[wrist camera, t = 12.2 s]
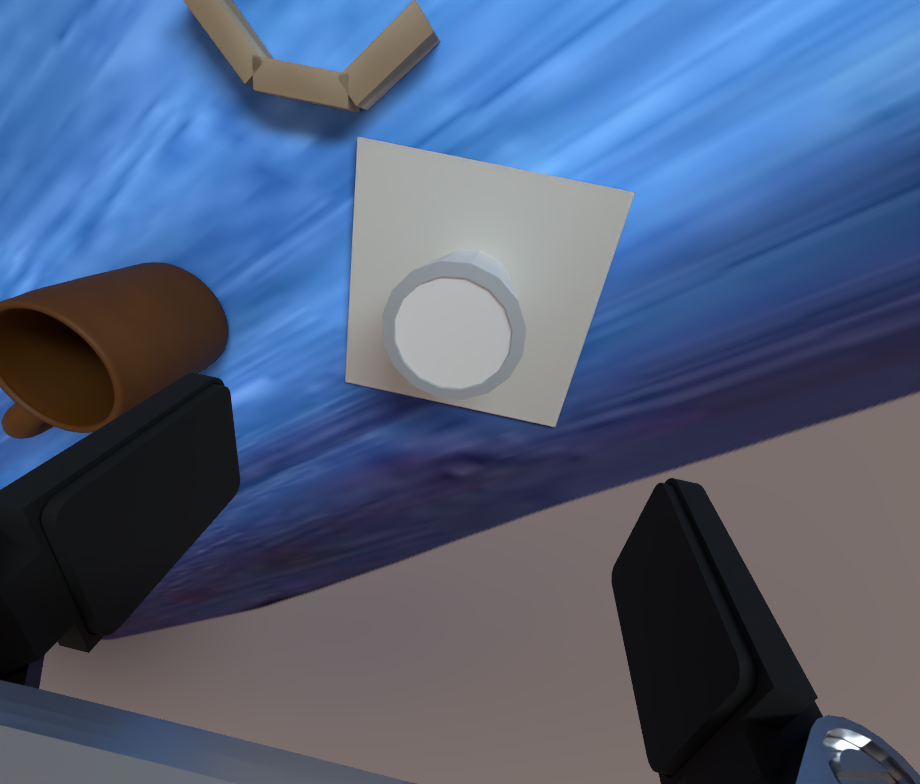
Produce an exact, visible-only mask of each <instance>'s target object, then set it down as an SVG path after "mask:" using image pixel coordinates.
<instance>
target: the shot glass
mask: <svg viewBox="0 0 920 784" xmlns="http://www.w3.org/2000/svg"><path fill="white" fill-rule="evenodd" d="M382 330H383V344H384V346H385V348H386V350H387V352H388V355H389V357H390V359H391V361H392V363H393V366H394V367H395V368H396V369H397V370H398V371H399V372H400V373H401V374H402V375H403V376H404V377H405V378H406V379H407V380H408V381H409V382H410V383H411V384H412V385H413V386H415V387H417V388H419V389H421V390H423V391H425V392H427V393H429V394H431V395H434V396H436V397H442V398H451V399H460V400H464V399H468V398H472V397H476V396H480V395H484V394H488V393H489V392H491V391H492V390H493V389H495V388H496V387H498V386H499V385H500V384H502V383H503V382H505V381H506V380H507V379H509V378H510V376H511V374H512V373H513V371H514V369H515V368H516V366H517V364H518V363H519V361H520V359H521V358H522V356H523V350H524V343H525V335H526V326H525V322H524V319H523V316H522V312H521V309H520V306H519V302H518V299H517V296H516V293H515V290H514V286H513V283H512V280H511V277H510V274H509V273H508V271H507V270H506V269H505V268H504V266H503V265H502V264H501V263H500V262H499V260H498V259H496V258H494V257H492V256H490V255H489V254H487V253H485V252H483V251H481V250H468V249H461V250H458V251H455V252H452V253H449V254H446V255H444V256H442V257H440V258H438V259H435V260H433V261H431V262H429V263H427V264H425V265H423V266H421V267H419V268H417V269H415V270H413V271H412V272H410V273H409V274H408V275H407V276H406V277H405V278H404V279H403V280H402V281H401V282H400V283H399V284H398V285H397V286H396V287H395V288H394V289H393V290H392V291H391V294H390V296H389V299H388V302H387V304H386V307H385V309H384V312H383V314H382Z"/></svg>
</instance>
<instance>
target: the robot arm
mask: <svg viewBox="0 0 920 784" xmlns="http://www.w3.org/2000/svg"><path fill="white" fill-rule="evenodd" d="M239 485H240V474H239V465H238V456H237V448H236V439H235V430H234V421H233V412H232V403H231V394H230V390H229V389H228V388H227V387H226V386H224V383H223V382H222V380H221V379H219V378H216V377H211V376H207V375H202V374H198V373H189V374H187V375H185V376H183V377H182V378H180V379H178V380H177V381H175V382H174V383H172V384H170V385H169V386H167V387H165V388H164V389H162V390H161V391H159V392H157V393H156V394H154V395H153V396H151V397H149V398H148V399H146V400H145V401H143V402H141V403H140V404H138V405H137V406H135V407H133V408H132V409H130V410H128V411H127V412H125V413H124V414H122V415H120V416H119V417H117V418H116V419H114V420H112V421H111V422H109V423H108V424H106V425H104V426H103V427H101V428H99V429H98V430H96V431H95V432H93V433H91V434H90V435H88V436H87V437H85V438H83V439H82V440H80V441H79V442H77V443H75V444H74V445H72V446H70V447H69V448H67V449H66V450H64V451H62V452H61V453H59V454H58V455H56V456H54V457H53V458H51V459H50V460H48V461H46V462H45V463H43V464H42V465H40V466H38V467H37V468H35V469H33V470H32V471H30V472H29V473H27V474H25V475H24V476H22V477H21V478H19V479H17V480H16V481H14V482H13V483H11V484H9V485H8V486H6V487H4V488H3V489H1V490H0V784H415V783H411V782H407V781H403V780H399V779H395V778H391V777H387V776H384V775H379V774H376V773H372V772H368V771H364V770H360V769H356V768H352V767H348V766H344V765H340V764H336V763H332V762H328V761H325V760H321V759H317V758H313V757H309V756H305V755H301V754H297V753H293V752H289V751H285V750H281V749H277V748H274V747H269V746H266V745H262V744H257V743H254V742H250V741H246V740H242V739H238V738H234V737H230V736H226V735H222V734H218V733H214V732H210V731H206V730H202V729H198V728H194V727H190V726H186V725H182V724H178V723H174V722H170V721H166V720H162V719H158V718H154V717H150V716H146V715H142V714H138V713H134V712H130V711H126V710H122V709H118V708H114V707H110V706H105V705H102V704H98V703H94V702H89V701H86V700H81V699H78V698H73V697H69V696H65V695H61V694H57V693H53V692H49V691H45V690H41V689H39V685H40V679H41V673H42V667H43V661H44V655H45V653H46V652H47V651H48V650H49V649H50V648H51V647H52V646H53V645H54V644H55V643H56V642H57V641H58V643H59V645H60V646H64V647H68V648H72V649H76V650H80V651H84V652H88V653H89V652H90V651H91V650H92V649H93V647H94V646H95V645H96V644H97V643H98V642H99V641H100V640H101V639H102V637H103V636H104V635H105V636H107V635H110V634H112V633H113V632H115V631H116V630H117V629H118V628H119V627H120V626H121V625H122V624H123V623H124V622H125V621H126V620H127V618H128V617H129V616H130V615H131V614H132V613H133V612H134V610H135V609H136V608H137V607H138V606H139V605H140V604H141V602H142V601H143V600H144V599H145V598H146V597H147V596H148V594H149V593H150V592H151V591H152V590H153V589H154V588H155V586H156V585H157V584H158V583H159V582H160V581H161V580H162V578H163V577H164V576H165V575H166V574H167V573H168V572H169V570H170V569H171V568H172V567H173V566H174V565H175V564H176V562H177V561H178V560H179V559H180V558H181V557H182V556H183V554H184V553H185V552H186V551H187V550H188V549H189V548H190V546H191V545H192V544H193V543H194V542H195V541H196V540H197V539H198V537H199V536H200V535H201V534H202V533H203V532H204V531H205V529H206V528H207V527H208V526H209V525H210V524H211V523H212V521H213V520H214V519H215V518H216V517H217V516H218V515H219V513H220V512H221V511H222V510H223V509H224V508H225V507H226V505H227V504H228V503H229V502H230V501H231V500H232V499H233V497H234V496H235V495H236V493H237V491H238V489H239ZM612 587H613V592H614V597H615V601H616V606H617V611H618V616H619V621H620V626H621V631H622V636H623V641H624V646H625V650H626V656H627V660H628V665H629V670H630V675H631V680H632V685H633V690H634V695H635V700H636V705H637V710H638V714H639V719H640V724H641V729H642V734H643V739H644V744H645V749H646V754H647V758H648V761H649V764H650V766H651V768H652V769H653V771H655V772H658V773H659V777H660V782H661V784H920V775H919V774H918V773H917V772H916V771H915V770H914V769H913V767H912V766H911V765H910V764H909V763H908V762H907V761H906V760H905V759H904V758H903V756H901V755H900V754H899V753H898V752H897V751H896V750H895V749H893V748H892V747H891V746H890V745H888V744H887V743H886V742H885V741H884V740H883V739H882V738H880V737H879V736H877V735H876V734H874V733H873V732H871V731H870V730H868V729H867V728H865V727H863V726H862V725H860V724H857V723H855V722H853V721H851V720H848V719H846V718H844V717H837V716H830V715H828V716H825V717H823V716H822V714H821V712H820V710H819V708H818V706H817V705H816V703H815V701H814V700H815V699H817V698H818V697H817V695H816V693H815V692H814V690H813V688H812V686H811V684H810V682H809V681H808V679H807V677H806V675H805V673H804V672H803V670H802V668H801V666H800V664H799V662H798V660H797V659H796V657H795V655H794V653H793V651H792V649H791V648H790V646H789V644H788V642H787V640H786V638H785V637H784V635H783V633H782V631H781V629H780V627H779V626H778V624H777V622H776V620H775V619H774V616H773V615H772V613H771V611H770V609H769V607H768V605H767V604H766V602H765V600H764V598H763V596H762V594H761V593H760V591H759V589H758V587H757V585H756V583H755V582H754V580H753V578H752V576H751V574H750V573H749V571H748V569H747V567H746V565H745V563H744V561H743V560H742V558H741V556H740V554H739V552H738V551H737V549H736V547H735V545H734V543H733V541H732V539H731V538H730V536H729V534H728V532H727V530H726V528H725V527H724V525H723V523H722V521H721V520H720V517H719V516H718V514H717V512H716V510H715V508H714V506H713V505H712V503H711V501H710V500H709V497H708V495H707V494H706V492H705V490H704V488H703V487H702V486H701V485H699V484H697V483H692V482H687V481H683V480H678V479H674V478H670V479H668V480H667V481H666V482H665V483H659V484H657V485H656V487H655V488H654V490H653V492H652V494H651V496H650V498H649V500H648V501H647V503H646V505H645V507H644V509H643V511H642V513H641V515H640V517H639V519H638V521H637V523H636V525H635V527H634V528H633V530H632V532H631V535H630V536H629V538H628V540H627V542H626V544H625V546H624V548H623V549H622V551H621V553H620V555H619V557H618V559H617V561H616V563H615V565H614V567H613V571H612Z"/></svg>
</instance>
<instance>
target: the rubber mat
mask: <svg viewBox="0 0 920 784" xmlns="http://www.w3.org/2000/svg"><path fill="white" fill-rule="evenodd" d="M634 194H635V192H631V191H626V190H621V189H616V188H611V187H606V186H601V185H596V184H591V183H586V182H581V181H576V180H571V179H566V178H561V177H556V176H551V175H546V174H541V173H536V172H531V171H526V170H521V169H516V168H511V167H506V166H501V165H496V164H491V163H487V162H482V161H477V160H472V159H467V158H462V157H457V156H452V155H447V154H442V153H437V152H432V151H427V150H422V149H417V148H412V147H407V146H402V145H397V144H392V143H387V142H382V141H377V140H372V139H367V138H362V137H358V140H357V160H356V180H355V199H354V219H353V239H352V259H351V278H350V298H349V318H348V338H347V357H346V377H345V382H349V383H353V384H358V385H363V386H367V387H372V388H376V389H381V390H386V391H390V392H395V393H400V394H404V395H409V396H413V397H418V398H423V399H427V400H432V401H436V402H441V403H446V404H450V405H455V406H460V407H464V408H469V409H473V410H478V411H483V412H487V413H492V414H497V415H501V416H506V417H510V418H515V419H520V420H524V421H529V422H534V423H538V424H543V425H547V426H552V427H555V426H556V423H557V420H558V417H559V414H560V411H561V408H562V405H563V403H564V400H565V397H566V394H567V391H568V388H569V385H570V382H571V379H572V376H573V373H574V370H575V367H576V364H577V361H578V359H579V356H580V353H581V350H582V347H583V344H584V341H585V338H586V335H587V332H588V329H589V326H590V323H591V320H592V318H593V315H594V312H595V309H596V306H597V303H598V300H599V297H600V294H601V291H602V288H603V285H604V282H605V279H606V276H607V274H608V271H609V268H610V265H611V262H612V259H613V256H614V253H615V250H616V247H617V244H618V241H619V238H620V235H621V232H622V230H623V227H624V224H625V221H626V218H627V215H628V212H629V209H630V206H631V203H632V200H633V197H634ZM461 249H468V250H481V251H483V252H485V253H487V254H489V255H490V256H492V257H494V258H496V259H498V260H499V262H500V263H501V264H502V265H503V266H504V268H505V269H506V270H507V271H508V273H509V274H510V277H511V280H512V283H513V286H514V290H515V293H516V296H517V299H518V302H519V306H520V309H521V312H522V316H523V319H524V322H525V326H526V335H525V343H524V350H523V356H522V358H521V359H520V361H519V363H518V364H517V366H516V368H515V369H514V371H513V373H512V374H511V376H510V378H509V379H507V380H506V381H505V382H503V383H502V384H500V385H499V386H498V387H496V388H495V389H493V390H492V391H491V392H489V393H488V394H484V395H480V396H476V397H472V398H468V399H464V400H460V399H451V398H442V397H436V396H434V395H431V394H429V393H427V392H425V391H423V390H421V389H419V388H417V387H415V386H413V385H412V384H411V383H410V382H409V381H408V380H407V379H406V378H405V377H404V376H403V375H402V374H401V373H400V372H399V371H398V370H397V369H396V368H395V367H394V366H393V363H392V361H391V359H390V357H389V355H388V352H387V350H386V348H385V346H384V344H383V330H382V314H383V312H384V309H385V307H386V304H387V302H388V299H389V296H390V294H391V291H392V290H393V289H394V288H395V287H396V286H397V285H398V284H399V283H400V282H401V281H402V280H403V279H404V278H405V277H406V276H407V275H408V274H409V273H410V272H412V271H413V270H415V269H417V268H419V267H421V266H423V265H425V264H427V263H429V262H431V261H433V260H435V259H438V258H440V257H442V256H444V255H446V254H449V253H452V252H455V251H458V250H461Z"/></svg>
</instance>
